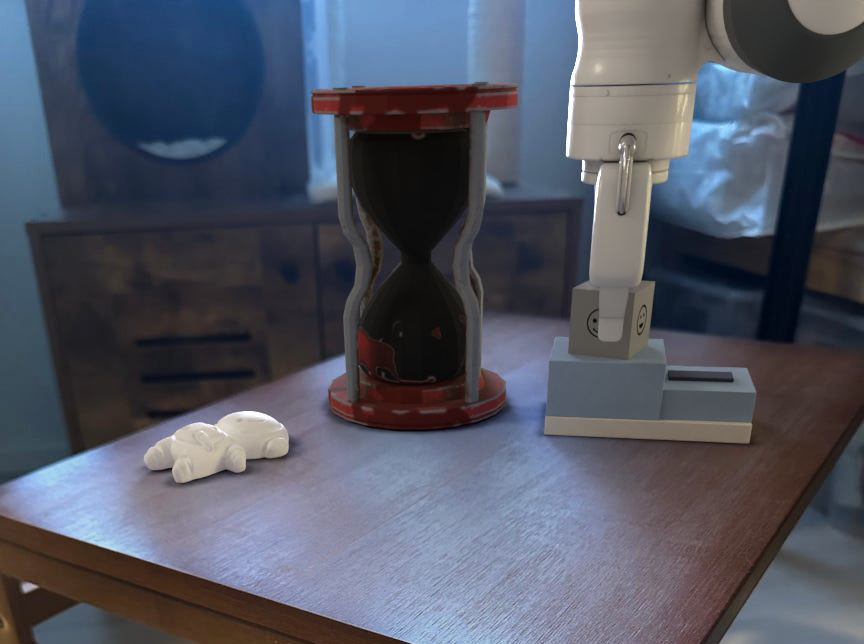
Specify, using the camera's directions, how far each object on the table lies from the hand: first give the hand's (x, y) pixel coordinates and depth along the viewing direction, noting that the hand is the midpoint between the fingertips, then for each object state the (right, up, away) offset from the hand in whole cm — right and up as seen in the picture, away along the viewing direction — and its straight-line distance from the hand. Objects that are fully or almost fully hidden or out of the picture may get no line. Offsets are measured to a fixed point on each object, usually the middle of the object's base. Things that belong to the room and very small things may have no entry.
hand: (610, 325), depth 76 cm
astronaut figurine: (-31, -11, -1) cm, 33 cm away
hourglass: (-15, -4, +10) cm, 19 cm away
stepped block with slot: (+4, -7, +3) cm, 9 cm away
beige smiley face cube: (0, -2, +1) cm, 2 cm away
